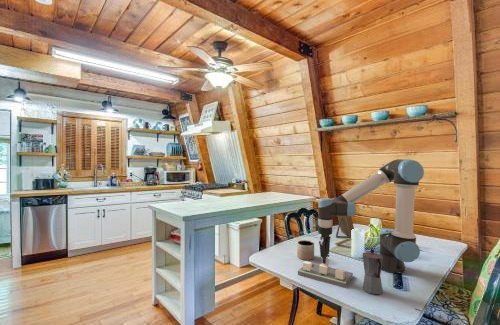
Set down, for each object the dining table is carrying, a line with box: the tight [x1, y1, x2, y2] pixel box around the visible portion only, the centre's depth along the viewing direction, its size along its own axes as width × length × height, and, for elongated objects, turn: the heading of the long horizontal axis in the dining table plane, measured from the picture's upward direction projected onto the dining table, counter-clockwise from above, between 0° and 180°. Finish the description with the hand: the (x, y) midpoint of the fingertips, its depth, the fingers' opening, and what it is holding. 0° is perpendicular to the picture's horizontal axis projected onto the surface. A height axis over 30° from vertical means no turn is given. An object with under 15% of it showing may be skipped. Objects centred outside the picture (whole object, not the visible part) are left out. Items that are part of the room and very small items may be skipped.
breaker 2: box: [335, 268, 346, 280], centre depth 137 cm, size 4×3×4 cm
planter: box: [296, 240, 315, 261], centre depth 171 cm, size 11×11×10 cm
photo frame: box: [335, 216, 355, 240], centre depth 219 cm, size 15×22×25 cm
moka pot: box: [362, 249, 383, 295], centre depth 128 cm, size 10×15×20 cm, turn 2°
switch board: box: [297, 262, 354, 289], centre depth 145 cm, size 26×15×2 cm, turn 56°
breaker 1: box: [302, 260, 313, 271], centre depth 147 cm, size 4×3×4 cm
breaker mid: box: [319, 263, 329, 275], centre depth 143 cm, size 4×3×4 cm
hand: (324, 268), depth 145 cm, fingers closed
